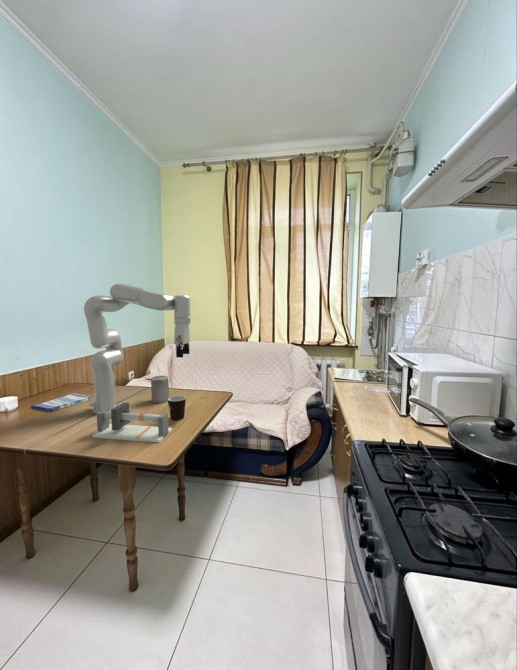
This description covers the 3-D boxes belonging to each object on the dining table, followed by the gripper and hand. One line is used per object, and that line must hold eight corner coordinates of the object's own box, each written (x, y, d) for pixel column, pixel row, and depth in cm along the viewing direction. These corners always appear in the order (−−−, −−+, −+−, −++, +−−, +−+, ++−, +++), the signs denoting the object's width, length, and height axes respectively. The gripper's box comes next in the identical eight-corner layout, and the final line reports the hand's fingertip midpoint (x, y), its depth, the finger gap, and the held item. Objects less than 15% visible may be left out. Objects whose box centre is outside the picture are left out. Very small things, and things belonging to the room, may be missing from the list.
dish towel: (92, 400, 172) (92, 395, 172) (50, 413, 151) (50, 408, 150) (73, 396, 179) (72, 391, 179) (30, 408, 158) (29, 403, 157)
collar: (111, 430, 123) (110, 409, 122) (124, 421, 132) (123, 402, 131) (117, 430, 123) (116, 409, 122) (129, 422, 131) (128, 402, 131)
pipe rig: (92, 437, 123) (90, 416, 122) (110, 425, 135) (109, 406, 134) (159, 442, 119) (158, 420, 118) (171, 429, 131) (171, 410, 130)
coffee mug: (170, 415, 148) (169, 395, 147) (187, 414, 149) (187, 395, 148) (165, 424, 137) (164, 403, 136) (183, 423, 137) (183, 403, 136)
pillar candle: (160, 396, 177) (159, 372, 175) (172, 399, 173) (171, 374, 171) (148, 401, 168) (146, 376, 167) (160, 404, 164) (159, 378, 162)
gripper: (180, 319, 151) (181, 352, 153) (168, 321, 134) (169, 358, 136) (195, 320, 151) (195, 352, 153) (184, 322, 134) (184, 358, 135)
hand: (183, 355), depth 144 cm, fingers open, 9 cm apart
